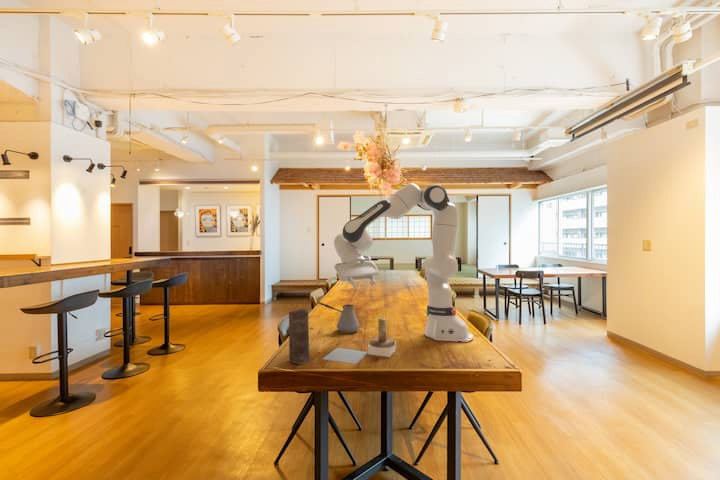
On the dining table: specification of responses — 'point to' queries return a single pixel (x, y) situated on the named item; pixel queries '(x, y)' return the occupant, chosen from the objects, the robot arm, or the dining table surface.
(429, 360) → the dining table surface
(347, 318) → the coffee pot
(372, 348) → the dish
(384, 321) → the lid
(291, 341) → the candle
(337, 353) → the mat
